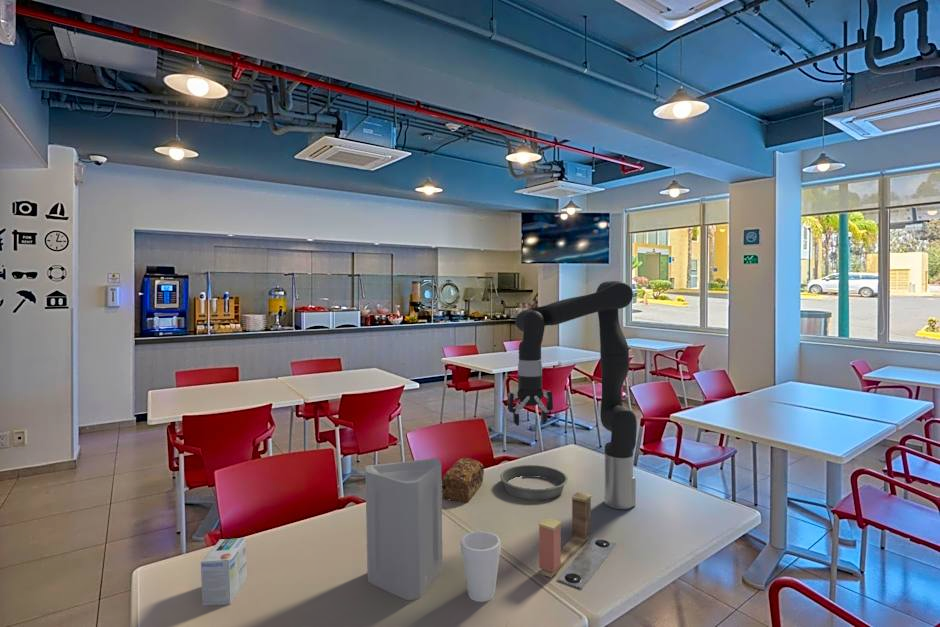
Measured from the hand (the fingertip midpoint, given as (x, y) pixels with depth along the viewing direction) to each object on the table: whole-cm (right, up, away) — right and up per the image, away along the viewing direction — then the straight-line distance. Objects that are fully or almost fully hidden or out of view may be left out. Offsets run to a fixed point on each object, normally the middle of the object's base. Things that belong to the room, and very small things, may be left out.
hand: (530, 424), depth 155 cm
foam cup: (-16, -32, -38) cm, 52 cm away
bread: (-21, -30, +23) cm, 43 cm away
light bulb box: (-79, -33, -36) cm, 92 cm away
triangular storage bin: (-35, -32, -33) cm, 57 cm away
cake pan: (+4, -30, +25) cm, 39 cm away
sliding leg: (+1, -30, -29) cm, 42 cm away
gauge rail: (+8, -31, -21) cm, 38 cm away
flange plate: (+13, -31, -24) cm, 42 cm away
